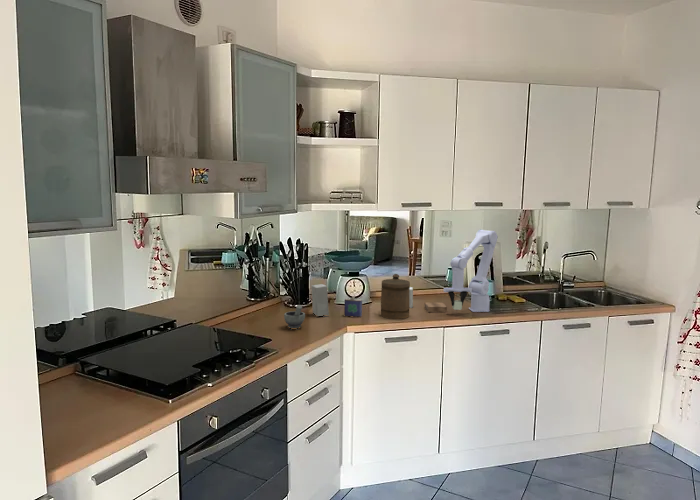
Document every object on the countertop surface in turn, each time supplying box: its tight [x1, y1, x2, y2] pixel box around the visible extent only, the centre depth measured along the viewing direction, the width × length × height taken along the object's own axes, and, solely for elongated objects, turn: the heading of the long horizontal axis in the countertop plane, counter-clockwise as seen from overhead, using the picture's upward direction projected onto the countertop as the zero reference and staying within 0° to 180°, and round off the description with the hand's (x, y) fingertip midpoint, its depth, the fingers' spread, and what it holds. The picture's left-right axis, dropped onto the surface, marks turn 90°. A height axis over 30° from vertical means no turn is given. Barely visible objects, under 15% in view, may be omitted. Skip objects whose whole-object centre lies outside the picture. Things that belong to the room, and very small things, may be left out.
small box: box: [409, 286, 414, 309], centre depth 301 cm, size 8×6×10 cm
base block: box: [424, 302, 448, 313], centre depth 293 cm, size 10×10×3 cm
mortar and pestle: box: [283, 304, 306, 328], centre depth 255 cm, size 11×9×12 cm
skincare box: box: [311, 283, 330, 317], centre depth 279 cm, size 8×7×16 cm
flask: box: [343, 295, 363, 318], centre depth 278 cm, size 9×3×11 cm, turn 78°
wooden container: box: [380, 273, 411, 320], centre depth 280 cm, size 15×15×22 cm
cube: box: [451, 299, 463, 311], centre depth 284 cm, size 4×4×4 cm
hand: (457, 305), depth 284 cm, fingers closed on cube, 4 cm apart
